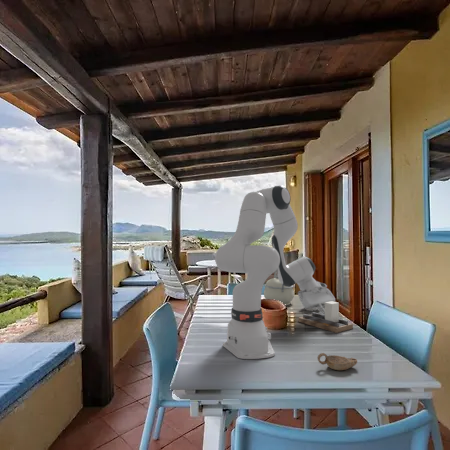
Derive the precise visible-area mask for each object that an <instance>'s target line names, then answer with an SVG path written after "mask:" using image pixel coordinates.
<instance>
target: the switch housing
mask: <svg viewBox="0 0 450 450" xmlns="http://www.w3.org/2000/svg"><path fill="white" fill-rule="evenodd" d="M298 323H302V324H304V325H307V326H308V325H309V326H312V327H315V328H318V329H319V328H320V329H323V330H325V331H329V332H332V333H335V334H338V333H341V332H345V331H349V330H351V329H354V324H353V323H350V322H349V320H346V319H343V318H342V319H341V318H339V322H333V321H329V320H325V314H323V313H322V314H321V313H318V312H315V311H312V313H311V314H306V313H303V314H302V316H299V317H298Z"/></svg>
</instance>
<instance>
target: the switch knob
mask: <svg viewBox="0 0 450 450" xmlns="http://www.w3.org/2000/svg"><path fill="white" fill-rule="evenodd" d="M339 306H340V303H339V302H337V301H335V302H333V301H330V302H325V314H324V315H325V320H329V321H333V322H339V319H340V315H339V314H340V313H339V311H340V309H339V308H340V307H339Z"/></svg>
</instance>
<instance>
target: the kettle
mask: <svg viewBox="0 0 450 450" xmlns="http://www.w3.org/2000/svg"><path fill="white" fill-rule="evenodd" d="M265 282H266V283H264V285H263V287H264V291H263V297H264V299H265V300H266V299H275V300H279V301H281V302H283V303H284V304H286V305H285V306H290V305H291V302H292V301H293V300H294V298H295V291H294V285H292V286H291V287H287V286H284V285H282V284H281V283H280V281H279V279H278V274H277V270H276V271H275V272H274V273H273V278H270V279H267V280H266V281H265Z"/></svg>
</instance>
